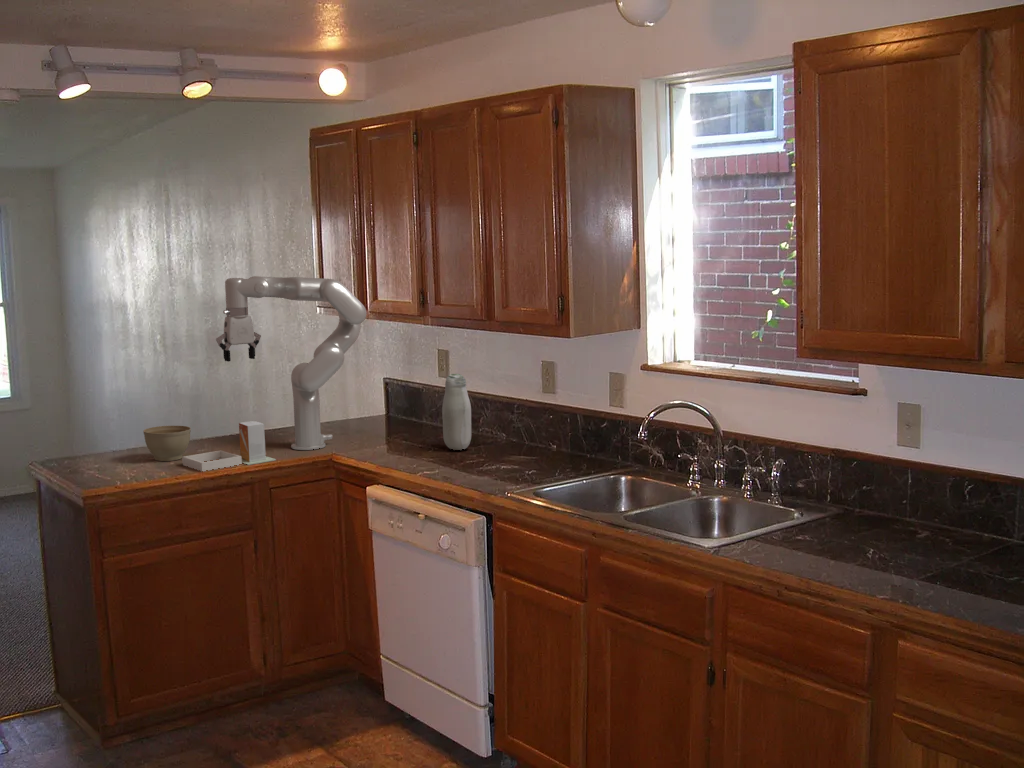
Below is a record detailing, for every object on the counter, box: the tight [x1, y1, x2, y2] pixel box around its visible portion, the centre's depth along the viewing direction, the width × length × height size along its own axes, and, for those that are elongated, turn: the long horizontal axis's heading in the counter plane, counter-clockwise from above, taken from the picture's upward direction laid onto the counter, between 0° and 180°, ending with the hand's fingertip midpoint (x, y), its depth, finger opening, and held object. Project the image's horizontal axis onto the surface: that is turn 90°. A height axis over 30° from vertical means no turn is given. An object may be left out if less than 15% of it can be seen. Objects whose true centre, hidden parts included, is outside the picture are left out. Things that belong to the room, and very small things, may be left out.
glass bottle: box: [441, 373, 472, 451], centre depth 391 cm, size 10×10×28 cm
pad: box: [242, 456, 277, 466], centre depth 381 cm, size 11×11×1 cm
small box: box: [238, 420, 267, 462], centre depth 380 cm, size 8×6×13 cm
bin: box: [181, 450, 243, 472], centre depth 374 cm, size 15×15×3 cm
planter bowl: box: [143, 425, 192, 462], centre depth 385 cm, size 16×16×11 cm
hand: (239, 359), depth 389 cm, fingers open, 9 cm apart
